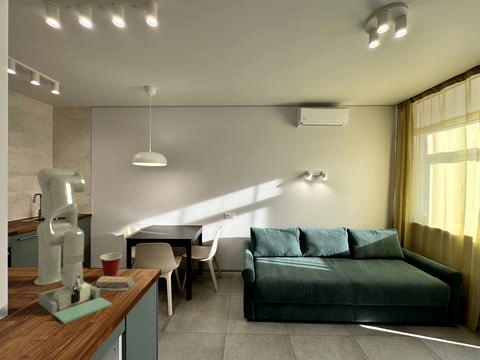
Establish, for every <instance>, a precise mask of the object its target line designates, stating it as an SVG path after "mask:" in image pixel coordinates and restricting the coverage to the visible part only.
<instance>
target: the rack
mask: <svg viewBox="0 0 480 360" xmlns="http://www.w3.org/2000/svg"><path fill="white" fill-rule="evenodd" d="M84 283H86V284H88V285H90V298H92V299H96V298H99V297H100V291H101V290H100V289H98V288H96V287H94V286H95V285H92V284H90V283H89V282H87V281H84V280H83V283H82V284H84ZM75 286H77V284H76V285H75ZM65 288H66V286H65V285H64V286H62V287H57V288H55V289H51V290H48V291H44V292H41V293H38V301H37V302H38V304H39V305H40V306H41V307H43V309H45V310H46V311H47V312H49V313H50V314H51V315H53V313H56V312H58V309H57V303H56V302H55V301H54V298H55V292H56V291H60V290H63V289H65Z"/></svg>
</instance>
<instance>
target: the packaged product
mask: <svg viewBox="0 0 480 360" xmlns="http://www.w3.org/2000/svg"><path fill="white" fill-rule="evenodd" d="M135 282H136V281H135V280H134V277H132V276H116V277H115V276H104V275H103V276H99V278H98V279H97V280H96V281H95V285H93V286H94V287H96V288H98V289H100V291H104V290H105V291H107V290H108V292H109V291H110V292H117V291H118V292H126V291H128V290H129V289H130V288H131V287H133V286H134V285H135Z"/></svg>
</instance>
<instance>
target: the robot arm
mask: <svg viewBox="0 0 480 360" xmlns="http://www.w3.org/2000/svg"><path fill="white" fill-rule="evenodd" d="M37 182H38V185H39V188H40V190H41V210H40V211H41V217H43V218H44V221H43V222H42V221H41V222H40V223H39V224H38V225H37V227H36V234H37V238H38V239H37V241H38V271H37V278H36V279H35V280H34V281H33V283H34V285H37V286H46V285H52V284H56V283H59V282H61V284H62V285H63V286H64V287H65V286H66V288H65V289H67V288H72V294H71V303H72V304H73V303H76V302H79V301H80V290H81V288H82V283H83V281H84V266H83V262H84V257H85V256H84V255H85V254H84V251H85V250H84V249H85V247H84V246H85V232H84V230H82V229H81V228H80V227H79V226H78V215H79V214H78V213H79V212H78V211H79V210H78V204H77V202H76V201H75V194H82V193H84V192H85V191H86V189H87V182H86V179H85V178H84V176H83V174H82V173H81V172H80V171H79V170H78V169H74V168H58V167H45V168H41V169H40V170H38V171H37ZM59 218H66V219H59ZM54 219H55V220H54ZM62 246H63V249H62ZM62 250H63V252H62ZM62 254H63V255H62ZM62 264H63V265H62ZM61 268H62V269H61ZM76 284H77V286H75V285H76ZM76 287H77V288H76ZM74 288H76V289H75V290H74Z"/></svg>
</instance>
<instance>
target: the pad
mask: <svg viewBox="0 0 480 360" xmlns="http://www.w3.org/2000/svg"><path fill="white" fill-rule="evenodd" d="M112 305H113V303H112V302H110V301H108V300H107V299H105V298H103V297H102V296H99V298H96V299H94V298H92V300H90V299H89V300H87V301H84V302H81V303H78V304H75V305H72V306H69V307H66V308H64V309H61V310H60V311H59V310H58V311H57V312H56V313H53V317H54V318H56V319H57V320H59V322H61V323H62V324H63V325H64V324H65V325H66V324H68V323H70V322H73V321H75V320H78V319H81V318H83V317H85V316H88V315H91V314H94V313H96V312H98V311H101V310H103V309H106V308H109V307H110V306H112ZM90 313H91V314H90Z"/></svg>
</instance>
